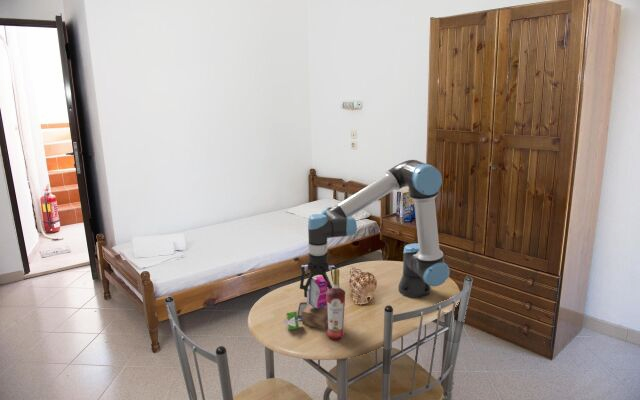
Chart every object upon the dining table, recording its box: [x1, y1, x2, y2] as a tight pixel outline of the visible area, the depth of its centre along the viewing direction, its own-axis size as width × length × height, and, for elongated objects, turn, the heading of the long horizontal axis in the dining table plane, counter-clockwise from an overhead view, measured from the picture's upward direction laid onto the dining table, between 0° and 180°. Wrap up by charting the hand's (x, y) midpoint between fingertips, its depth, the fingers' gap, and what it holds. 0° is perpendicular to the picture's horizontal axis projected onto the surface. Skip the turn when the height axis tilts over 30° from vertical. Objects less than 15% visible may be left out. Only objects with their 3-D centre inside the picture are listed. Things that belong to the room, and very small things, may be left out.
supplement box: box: [308, 275, 328, 309], centre depth 190 cm, size 6×6×12 cm
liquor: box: [326, 268, 346, 340], centre depth 178 cm, size 7×7×28 cm
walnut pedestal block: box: [301, 304, 328, 330], centre depth 192 cm, size 10×10×6 cm
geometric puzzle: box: [283, 311, 302, 331], centre depth 187 cm, size 7×7×8 cm
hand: (318, 304), depth 191 cm, fingers closed on supplement box, 8 cm apart
